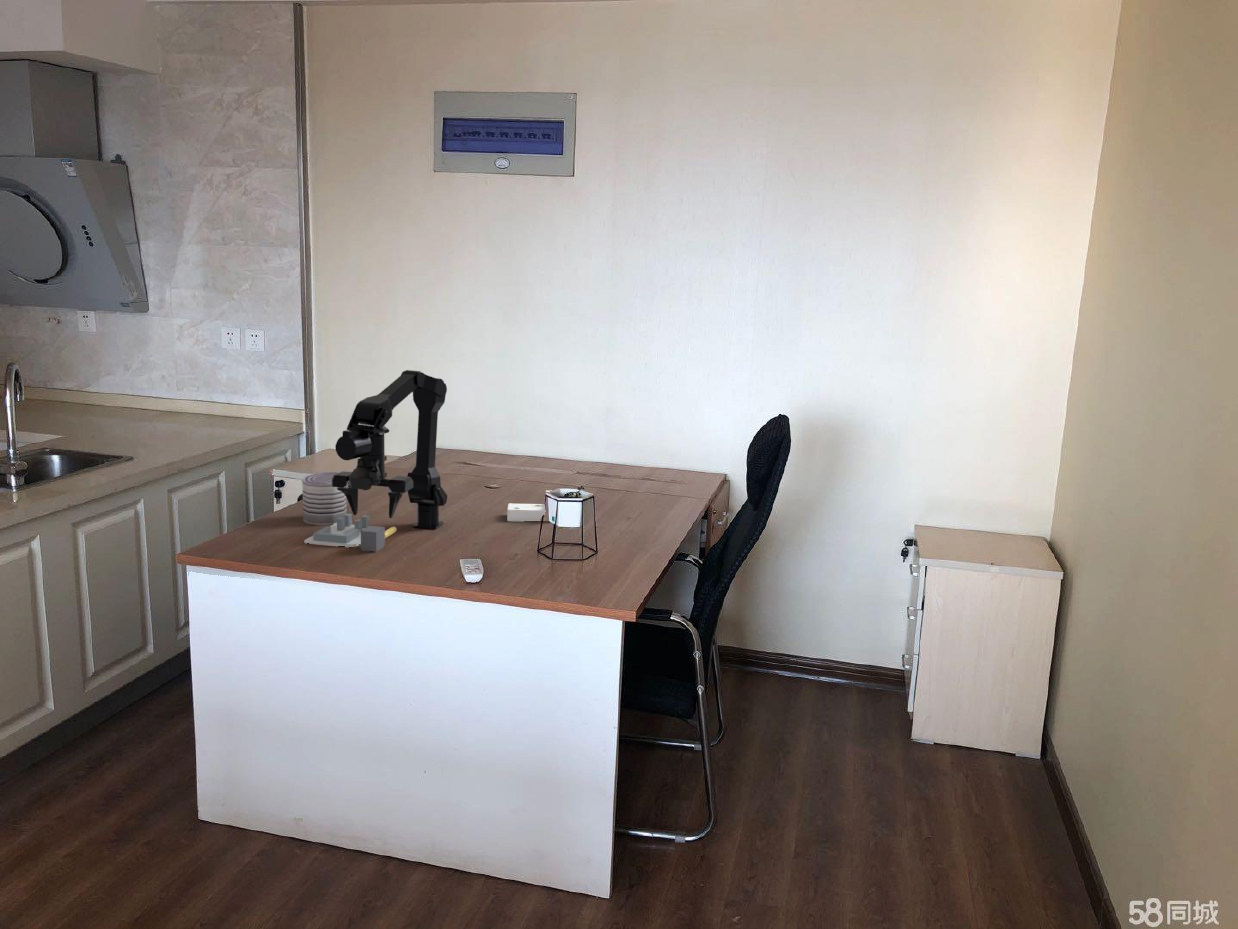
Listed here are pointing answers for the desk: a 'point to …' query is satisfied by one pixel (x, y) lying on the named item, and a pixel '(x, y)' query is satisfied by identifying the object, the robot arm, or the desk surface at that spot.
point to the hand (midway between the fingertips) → (373, 516)
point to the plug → (375, 537)
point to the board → (340, 532)
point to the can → (322, 499)
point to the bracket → (525, 512)
